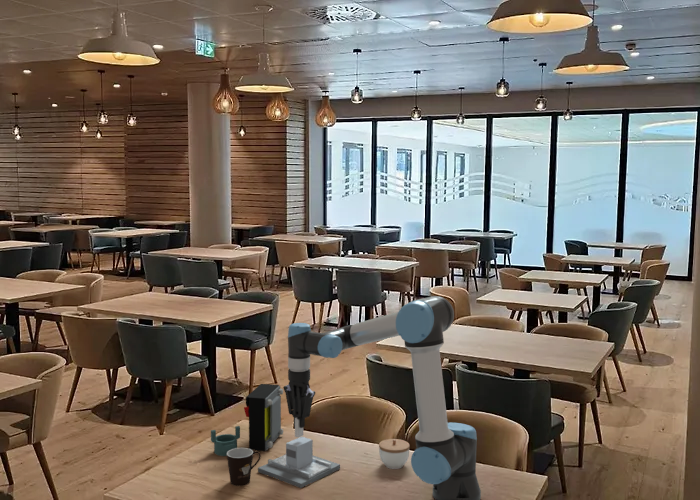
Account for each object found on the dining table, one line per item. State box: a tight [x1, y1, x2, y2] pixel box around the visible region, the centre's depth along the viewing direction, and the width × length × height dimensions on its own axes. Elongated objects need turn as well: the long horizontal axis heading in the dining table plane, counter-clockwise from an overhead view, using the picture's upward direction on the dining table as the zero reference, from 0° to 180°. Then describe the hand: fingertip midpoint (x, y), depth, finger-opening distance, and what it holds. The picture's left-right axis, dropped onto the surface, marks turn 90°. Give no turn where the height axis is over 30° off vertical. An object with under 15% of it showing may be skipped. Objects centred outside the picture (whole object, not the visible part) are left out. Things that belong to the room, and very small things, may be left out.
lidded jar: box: [378, 438, 410, 470], centre depth 243 cm, size 11×11×9 cm
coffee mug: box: [226, 447, 262, 487], centre depth 229 cm, size 12×9×10 cm
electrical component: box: [243, 383, 284, 452], centre depth 264 cm, size 18×10×20 cm, turn 168°
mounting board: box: [257, 455, 341, 489], centre depth 239 cm, size 20×20×2 cm
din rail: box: [267, 453, 331, 479], centre depth 239 cm, size 19×12×2 cm, turn 51°
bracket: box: [210, 425, 241, 457], centre depth 255 cm, size 9×9×9 cm
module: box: [285, 436, 314, 469], centre depth 238 cm, size 5×8×8 cm, turn 142°
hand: (299, 435), depth 238 cm, fingers closed
